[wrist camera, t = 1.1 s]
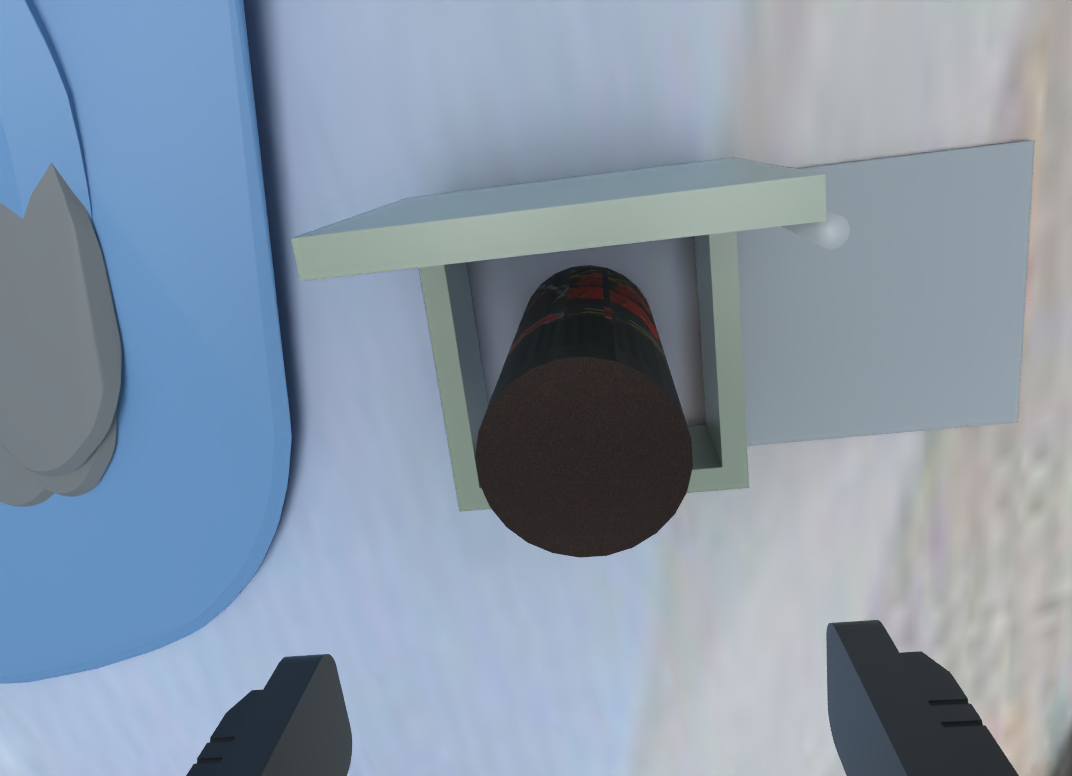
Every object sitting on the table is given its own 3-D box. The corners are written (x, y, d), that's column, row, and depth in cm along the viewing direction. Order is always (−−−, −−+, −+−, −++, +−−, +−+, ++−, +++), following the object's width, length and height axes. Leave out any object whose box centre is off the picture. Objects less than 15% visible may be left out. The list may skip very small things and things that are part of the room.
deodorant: (665, 377, 36) (711, 535, 22) (539, 405, 37) (506, 574, 23) (638, 251, 35) (669, 333, 20) (507, 282, 36) (449, 383, 21)
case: (432, 188, 35) (290, 238, 18) (732, 151, 33) (863, 169, 17) (476, 464, 38) (390, 706, 22) (746, 440, 37) (864, 679, 21)
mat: (726, 177, 34) (728, 177, 33) (1027, 140, 32) (1034, 140, 32) (739, 441, 37) (742, 446, 36) (1010, 417, 36) (1017, 422, 35)
